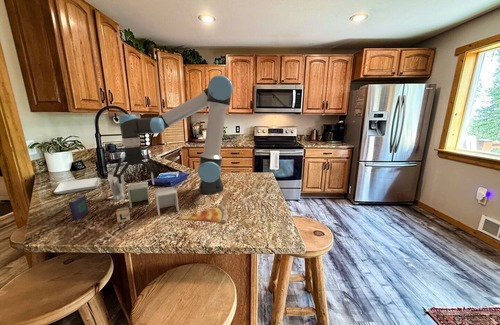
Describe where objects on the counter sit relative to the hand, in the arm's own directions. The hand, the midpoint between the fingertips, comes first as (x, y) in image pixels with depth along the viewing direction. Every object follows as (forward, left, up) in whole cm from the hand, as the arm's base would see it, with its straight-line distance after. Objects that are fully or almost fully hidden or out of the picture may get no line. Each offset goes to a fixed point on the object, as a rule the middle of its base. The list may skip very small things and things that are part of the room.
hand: (139, 186), depth 105 cm
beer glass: (+17, -7, -10) cm, 20 cm away
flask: (+21, +14, -10) cm, 27 cm away
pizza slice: (-38, +11, -10) cm, 41 cm away
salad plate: (+54, -24, -10) cm, 60 cm away
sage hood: (0, 0, -9) cm, 9 cm away
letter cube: (-1, +17, -9) cm, 20 cm away
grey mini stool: (-17, +8, -9) cm, 21 cm away
